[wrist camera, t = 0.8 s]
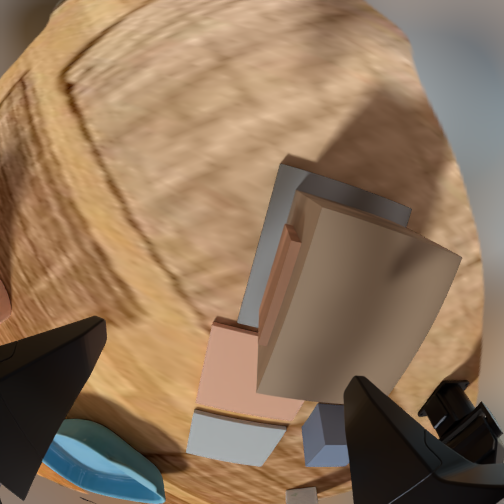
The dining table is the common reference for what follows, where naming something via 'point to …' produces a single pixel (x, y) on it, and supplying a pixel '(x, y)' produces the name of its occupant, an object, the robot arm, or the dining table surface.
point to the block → (325, 437)
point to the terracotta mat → (238, 376)
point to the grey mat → (232, 438)
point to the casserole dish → (103, 463)
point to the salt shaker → (4, 304)
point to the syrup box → (302, 496)
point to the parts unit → (339, 289)
